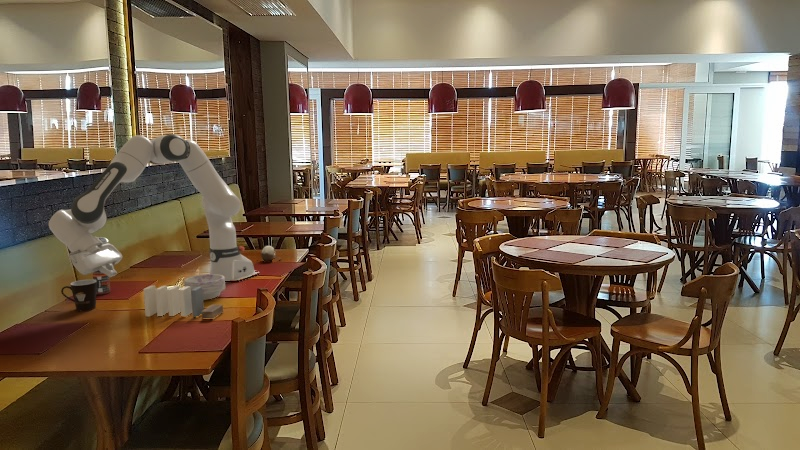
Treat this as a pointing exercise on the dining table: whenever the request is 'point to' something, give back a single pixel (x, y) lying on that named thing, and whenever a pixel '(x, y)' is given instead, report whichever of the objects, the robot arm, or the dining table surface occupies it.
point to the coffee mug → (83, 294)
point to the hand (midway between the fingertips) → (113, 275)
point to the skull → (268, 254)
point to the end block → (212, 311)
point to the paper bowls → (207, 284)
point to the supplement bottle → (101, 283)
